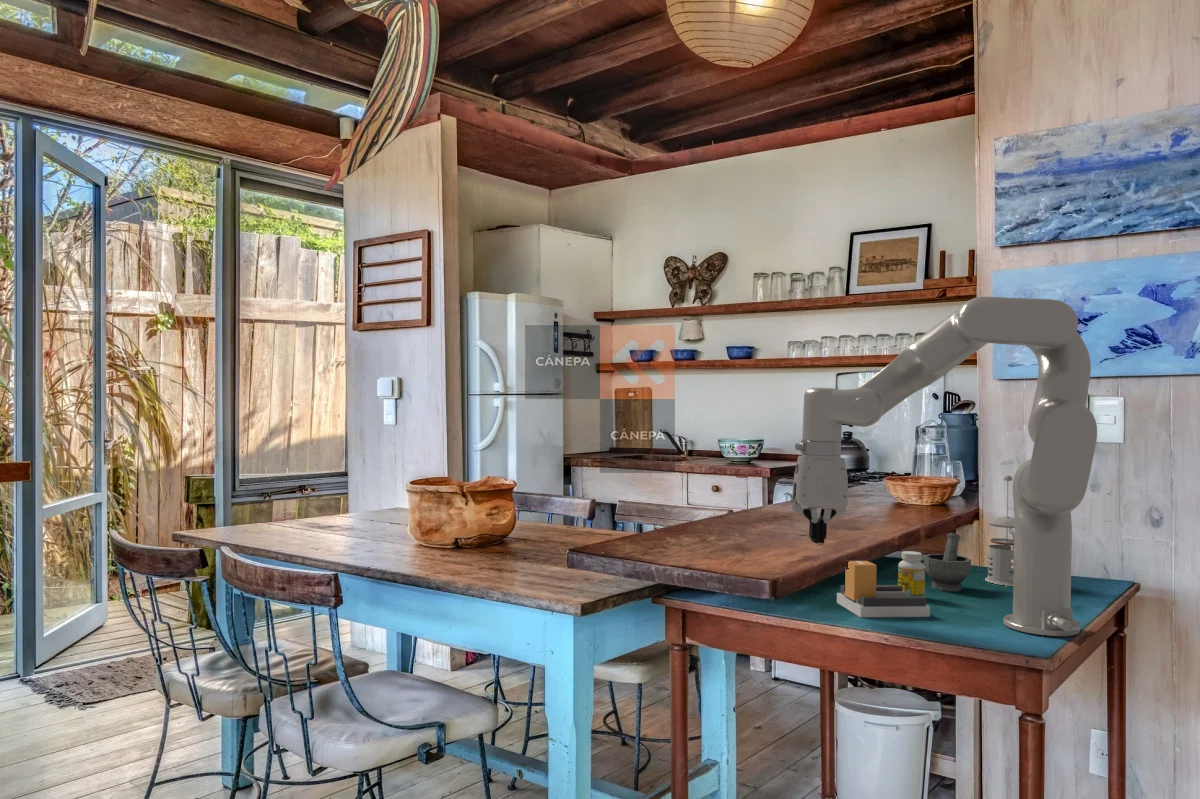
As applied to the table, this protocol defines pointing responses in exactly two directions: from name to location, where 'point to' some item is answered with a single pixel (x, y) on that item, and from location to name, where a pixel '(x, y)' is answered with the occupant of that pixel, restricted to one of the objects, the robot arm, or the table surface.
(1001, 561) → the french press
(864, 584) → the orange rectangular block
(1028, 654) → the table surface
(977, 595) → the table surface
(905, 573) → the supplement bottle
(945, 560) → the mortar and pestle
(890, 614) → the breaker panel
